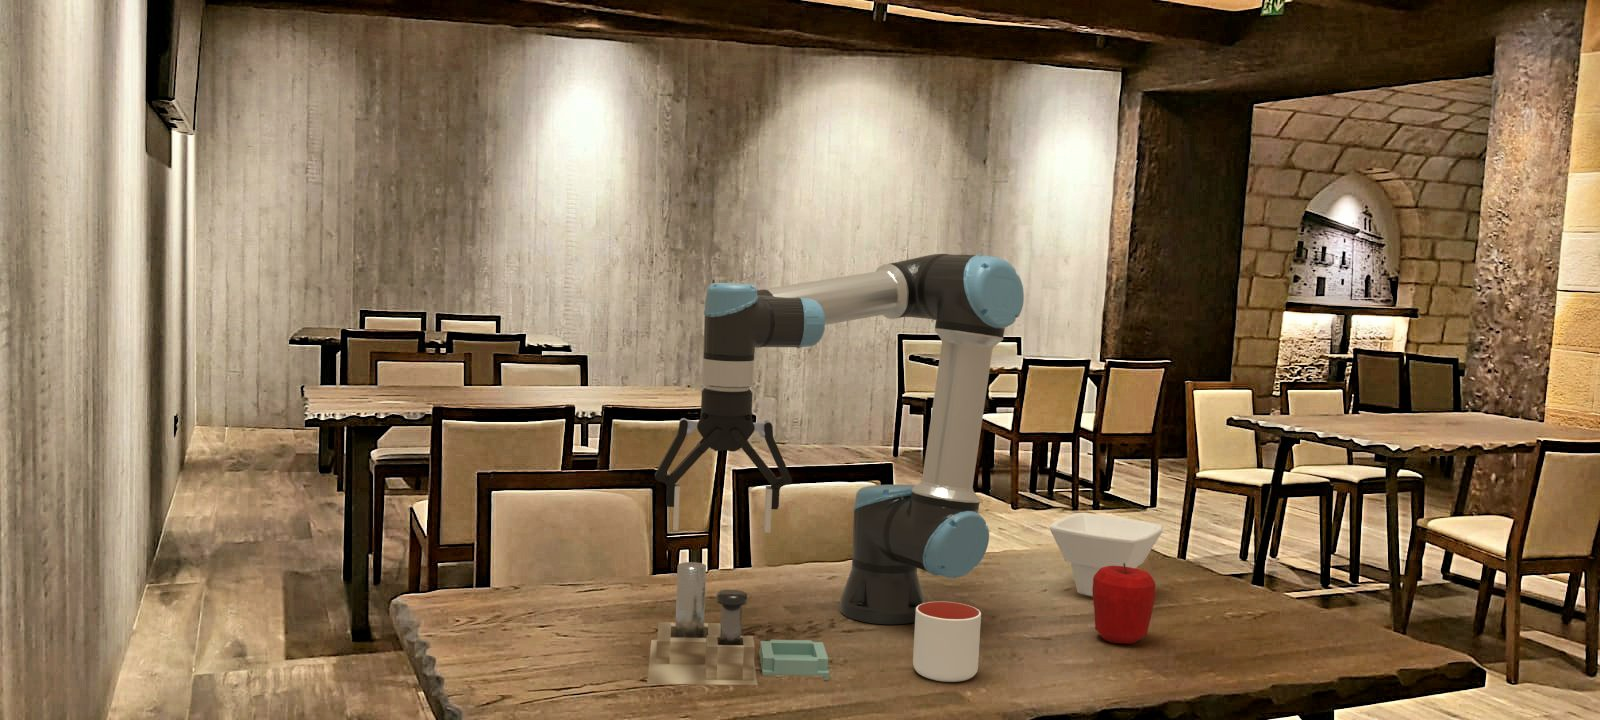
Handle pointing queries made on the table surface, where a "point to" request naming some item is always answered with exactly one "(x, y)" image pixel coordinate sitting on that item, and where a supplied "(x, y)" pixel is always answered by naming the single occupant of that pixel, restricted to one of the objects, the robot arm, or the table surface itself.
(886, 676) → the table surface
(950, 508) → the robot arm
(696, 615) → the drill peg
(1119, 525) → the bowl
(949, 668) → the cup
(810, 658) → the tray
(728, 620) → the black mushroom head peg
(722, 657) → the socket block
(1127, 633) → the apple
